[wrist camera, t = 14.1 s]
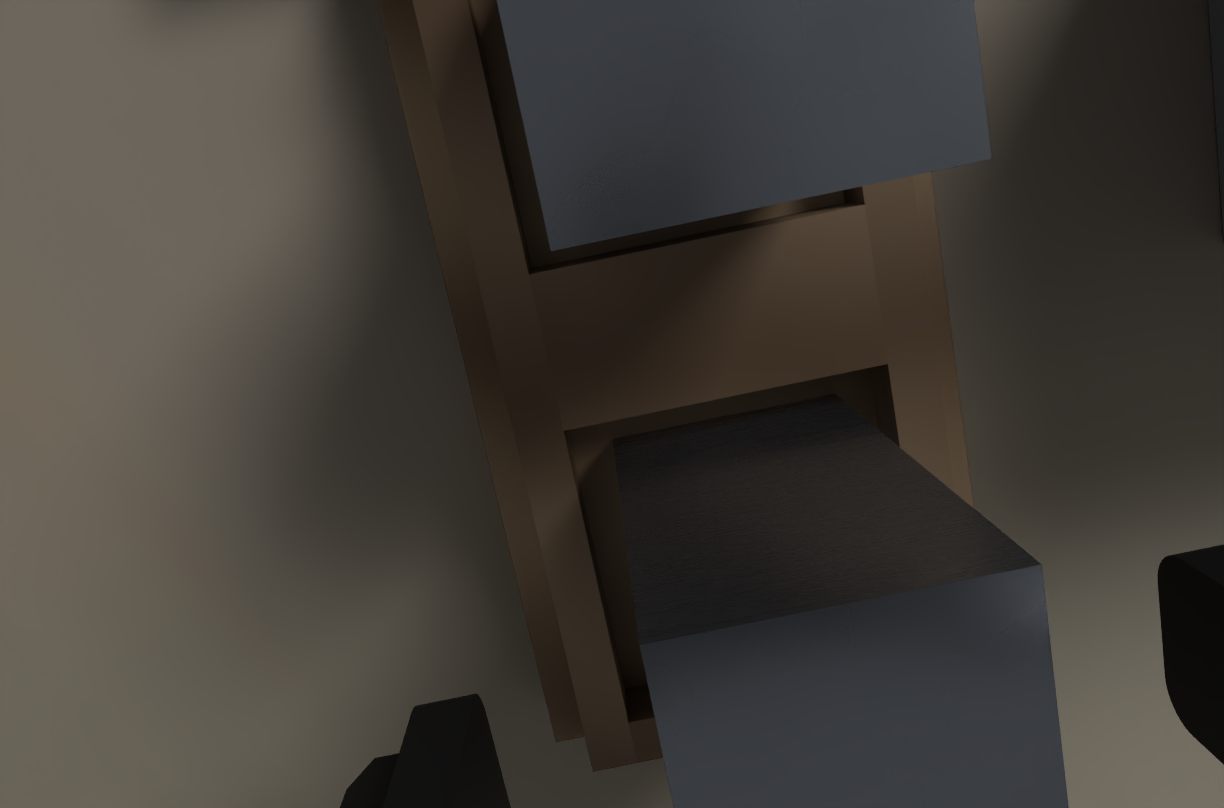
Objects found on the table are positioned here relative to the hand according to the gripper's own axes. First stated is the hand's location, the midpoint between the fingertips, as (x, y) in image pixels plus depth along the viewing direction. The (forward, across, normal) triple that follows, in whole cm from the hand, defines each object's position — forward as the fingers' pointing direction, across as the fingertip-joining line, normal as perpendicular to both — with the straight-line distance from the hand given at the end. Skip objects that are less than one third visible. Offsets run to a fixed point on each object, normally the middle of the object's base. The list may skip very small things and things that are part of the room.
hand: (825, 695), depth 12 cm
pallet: (+8, 0, -4) cm, 9 cm away
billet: (+6, 0, 0) cm, 7 cm away
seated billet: (+7, 0, -8) cm, 10 cm away
